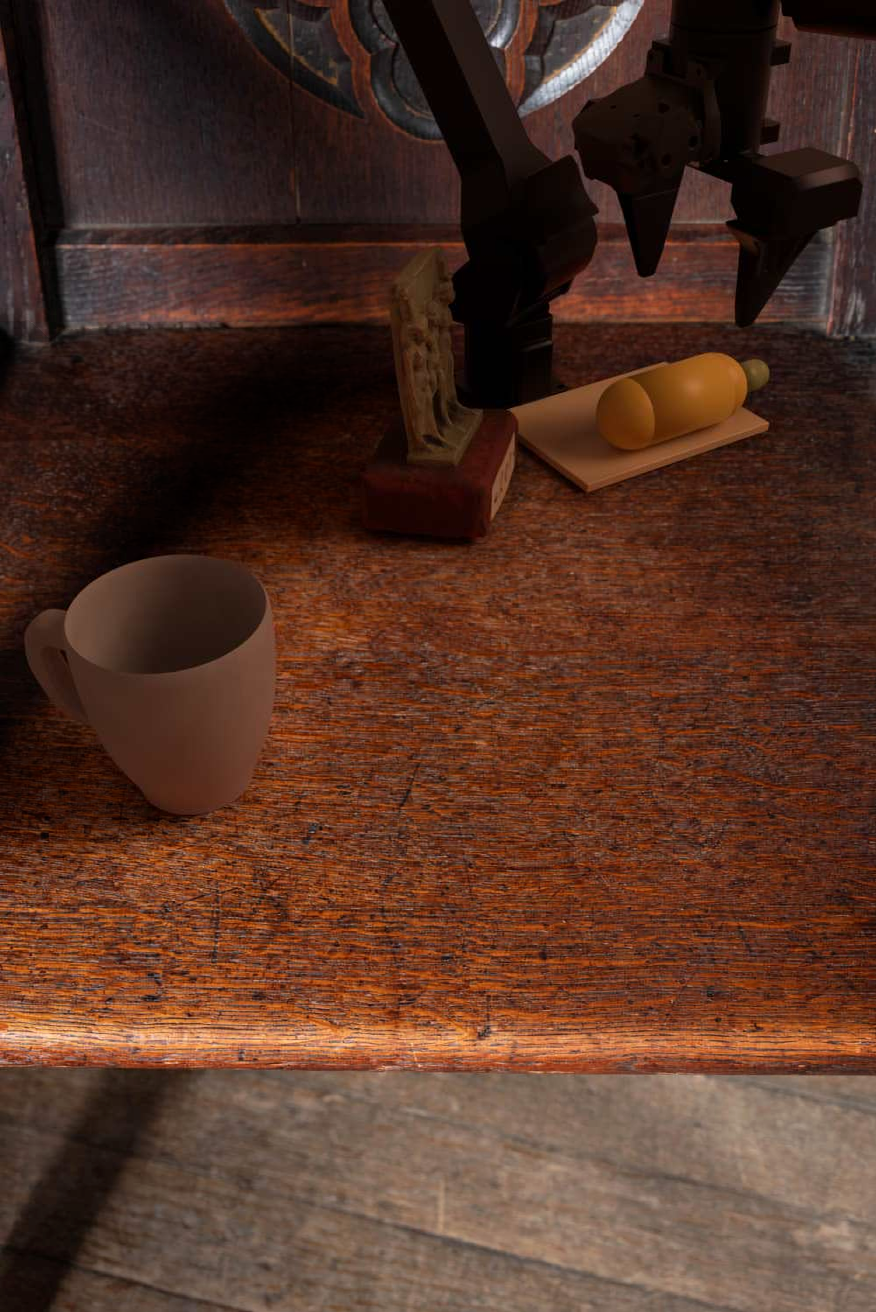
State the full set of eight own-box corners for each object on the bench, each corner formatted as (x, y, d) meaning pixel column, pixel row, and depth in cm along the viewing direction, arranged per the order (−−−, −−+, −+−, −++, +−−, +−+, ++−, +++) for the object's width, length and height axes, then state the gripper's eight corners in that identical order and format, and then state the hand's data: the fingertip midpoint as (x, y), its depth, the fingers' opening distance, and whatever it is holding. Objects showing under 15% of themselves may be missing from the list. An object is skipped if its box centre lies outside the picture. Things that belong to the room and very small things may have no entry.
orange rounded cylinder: (737, 389, 88) (746, 327, 85) (784, 415, 85) (794, 351, 82) (579, 440, 82) (583, 376, 80) (622, 470, 79) (627, 404, 77)
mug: (319, 732, 61) (303, 570, 55) (242, 862, 55) (214, 695, 49) (102, 686, 64) (64, 528, 58) (5, 804, 58) (-49, 639, 52)
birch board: (491, 421, 86) (491, 413, 86) (664, 368, 92) (665, 361, 91) (586, 493, 78) (587, 484, 78) (768, 430, 84) (769, 422, 84)
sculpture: (493, 551, 74) (497, 306, 64) (359, 536, 75) (344, 295, 66) (520, 467, 81) (527, 237, 72) (398, 455, 82) (390, 228, 73)
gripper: (502, 10, 71) (500, 279, 80) (723, 82, 58) (688, 391, 68) (659, -14, 75) (638, 244, 85) (896, 47, 62) (840, 342, 72)
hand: (693, 300), depth 77 cm, fingers open, 9 cm apart
